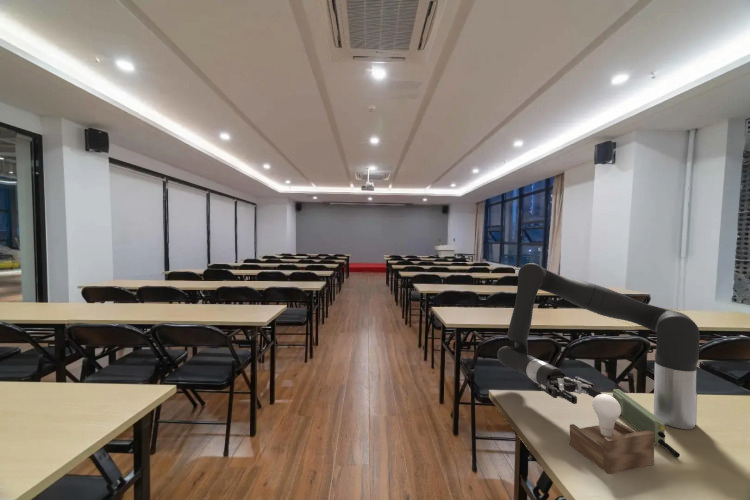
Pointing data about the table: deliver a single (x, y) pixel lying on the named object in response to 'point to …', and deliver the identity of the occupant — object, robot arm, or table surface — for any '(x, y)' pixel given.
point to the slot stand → (614, 447)
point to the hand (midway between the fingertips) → (588, 398)
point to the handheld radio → (642, 419)
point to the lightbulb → (606, 413)
